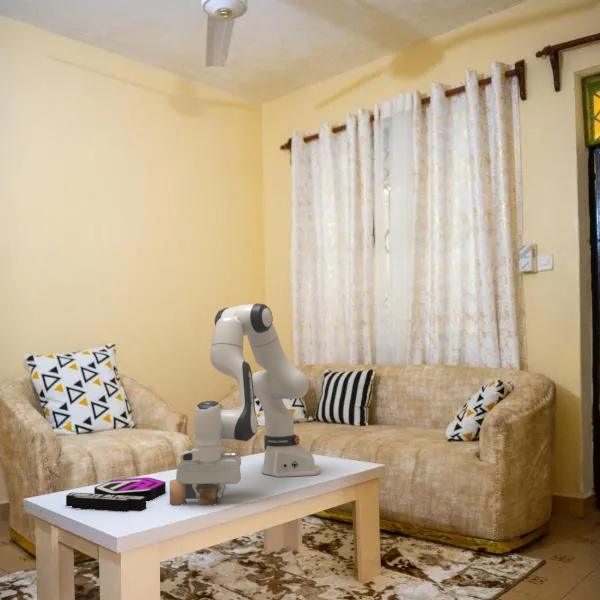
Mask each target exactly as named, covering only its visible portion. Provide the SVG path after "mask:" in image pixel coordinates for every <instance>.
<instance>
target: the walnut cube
mask: <svg viewBox="0 0 600 600" xmlns="http://www.w3.org/2000/svg"><path fill="white" fill-rule="evenodd" d="M217 491H218V485H202V487H201V488H200V489H199V498H198V499H199V502H198V503H199V506H215V505H214V504H216V503H218V502H219V498H216V496H217V495H216V492H217ZM216 505H217V504H216Z"/></svg>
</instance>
